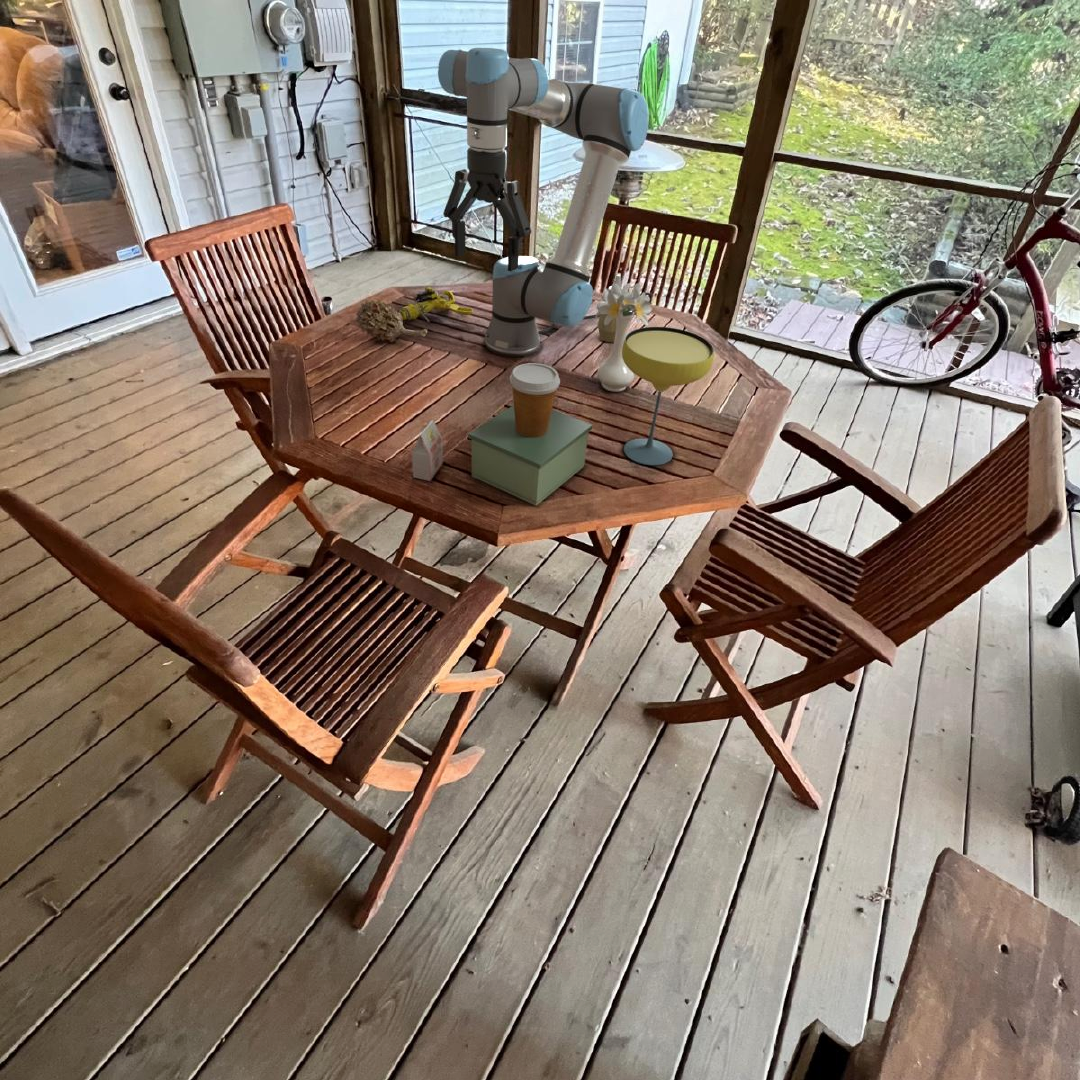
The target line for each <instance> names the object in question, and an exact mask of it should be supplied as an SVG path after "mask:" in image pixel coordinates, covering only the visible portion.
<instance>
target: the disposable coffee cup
mask: <svg viewBox="0 0 1080 1080" xmlns="http://www.w3.org/2000/svg"><path fill="white" fill-rule="evenodd" d="M509 382H510V385H511V388H512V400H513V405H514V413H515V424H516V431H517V432H518V433H519V434H521V435H523V436H527V437H539V436H542V435H544V434H546V432H547V430H548V425H549V421H550V416H551V412H552V409H553V406H554V403H555V398H556V394H557V391H558V388H559V387H560V384H561V379H560V377H559V373H558V371H557V370H556V369H555V368H554V367H552V366H551V365H547V364H543V363H538V362H528V363H522V364H519V365H516V366H515V367H514V368H513V369H512V371H511V374H510V376H509Z"/></svg>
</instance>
